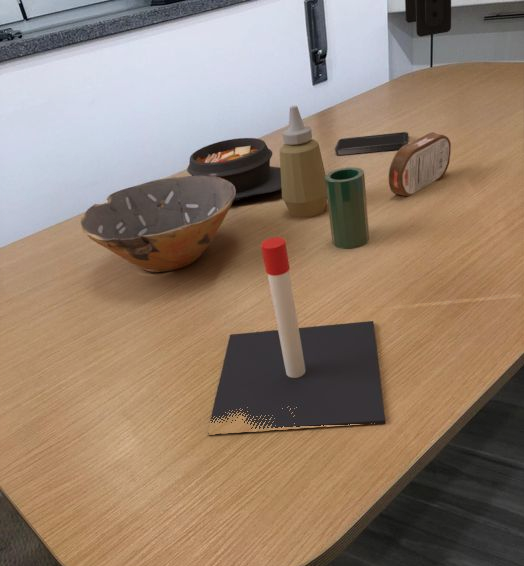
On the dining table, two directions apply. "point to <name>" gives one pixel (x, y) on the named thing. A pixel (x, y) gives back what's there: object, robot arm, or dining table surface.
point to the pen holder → (347, 207)
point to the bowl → (161, 220)
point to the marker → (284, 304)
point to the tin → (419, 164)
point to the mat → (303, 378)
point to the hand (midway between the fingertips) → (426, 26)
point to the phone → (371, 143)
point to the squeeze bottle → (302, 170)
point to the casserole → (238, 166)
